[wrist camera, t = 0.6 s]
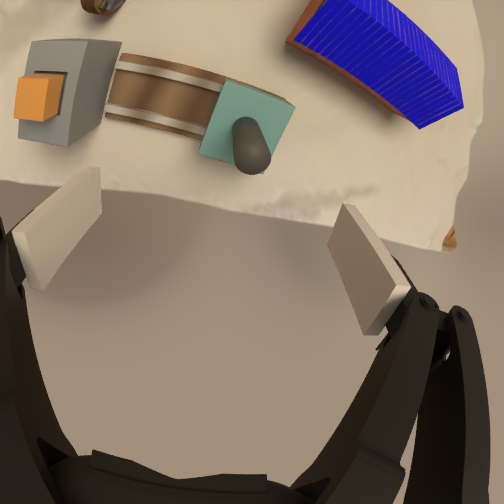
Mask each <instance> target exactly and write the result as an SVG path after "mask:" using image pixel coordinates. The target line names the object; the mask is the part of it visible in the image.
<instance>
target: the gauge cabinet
mask: <svg viewBox="0 0 504 504" xmlns="http://www.w3.org/2000/svg"><path fill="white" fill-rule="evenodd" d="M121 44H122V42H116V41H107V40H94V39H53V40H41V41H32V43H31V47H30V51H29V55H28V60H27V65H26V70H25V75H24V76H27V75H31V74H34V73H38V74H59V75H64V78H63V83H62V89H61V94H60V100H59V106H58V113H57V114H56V115H54V116H52V117H50V118H48V119H46V120H45V121H43V122H42V121H34V120H26V119H19V129H18V139H25V140H31V141H37V142H43V143H48V144H54V145H59V146H64V147H68V146H69V145H71V144H72V143H73V142H74V141H76V140H77V139H79V138H80V137H81V136H83V135H84V134H85V133H87V132H88V131H90V130H91V129H92V128H94V127H95V126H97V125H98V124H100V123H101V120H102V115H103V110H104V105H105V101H106V97H107V92H108V88H109V85H110V81H111V77H112V73H113V70H114V66H115V63H116V60H117V57H118V53H119V50H120V47H121Z"/></svg>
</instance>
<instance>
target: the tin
mask: <svg viewBox="0 0 504 504" xmlns="http://www.w3.org/2000/svg"><path fill="white" fill-rule="evenodd" d="M124 2H125V0H81V5H82V8H83V9H84V10H85V11H87V12H89V13H93V14H100V15H109V14H111V13H113V12H114V11H116V10H117V9H118V8H119V7H120V6H121V5H122V4H123V3H124Z"/></svg>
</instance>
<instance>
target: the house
mask: <svg viewBox="0 0 504 504" xmlns="http://www.w3.org/2000/svg"><path fill="white" fill-rule="evenodd" d="M286 42H287V43H289V44H291V45H293V46H295V47H297V48H299V49H301V50H302V51H304V52H306V53H308V54H310V55H311V56H313V57H315V58H317V59H318V60H320V61H322V62H323V63H325V64H327V65H328V66H330V67H332V68H333V69H335V70H336V71H338V72H340V73H341V74H343V75H344V76H346V77H347V78H349V79H350V80H352V81H353V82H355V83H356V84H357V85H359V86H360V87H362V88H363V89H364V90H366V91H367V92H369V93H370V94H371V95H373V96H374V97H375V98H377V99H378V100H379V101H380V102H382V103H383V104H384V105H386V106H387V107H388V108H389V109H391V110H392V111H393V112H394V113H395V114H397V115H399V116H401V117H403V118H405V119H407V120H409V121H411V122H412V123H413V124H414V125H415V126H416V127H418V128H419V129H421V128H423V127H425V126H427V125H429V124H431V123H433V122H436V121H438V120H440V119H442V118H444V117H446V116H448V115H450V114H452V113H454V112H456V111H458V110H460V109H462V108H464V106H463V99H462V93H461V88H460V82H459V77H458V73H457V68H456V67H455V66H454V64H453V63H452V62H451V61H450V60H449V59H448V57H447V56H446V55H445V54H444V53H443V52H442V51H441V50H440V48H439V47H438V46H437V45H436V44H435V43H434V42H433V41H432V40H431V39H430V38H429V37H428V36H427V35H426V34H425V33H424V32H423V31H422V30H421V29H420V28H419V27H418V26H417V25H416V24H415V23H414V22H413V21H411V20H410V19H409V18H408V17H407V16H406V15H405V14H404V13H402V12H401V11H400V10H399V9H398V8H397V7H395V6H394V5H393V4H392V3H390V2H389V1H388V0H312V1H311V2H310V4H309V5H308V7H307V8H306V10H305V11H304V13H303V14H302V16H301V18H300V19H299V21H298V22H297V24H296V25H295V27H294V29H293V30H292V32H291V34H290V35H289V37H288V39H287V40H286Z"/></svg>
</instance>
